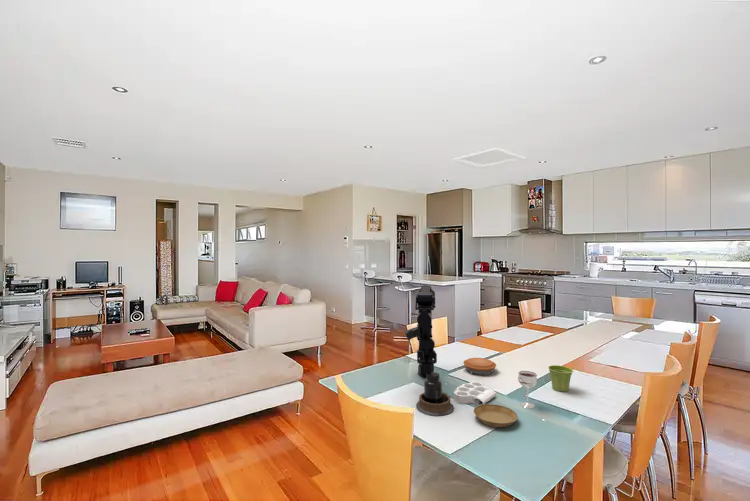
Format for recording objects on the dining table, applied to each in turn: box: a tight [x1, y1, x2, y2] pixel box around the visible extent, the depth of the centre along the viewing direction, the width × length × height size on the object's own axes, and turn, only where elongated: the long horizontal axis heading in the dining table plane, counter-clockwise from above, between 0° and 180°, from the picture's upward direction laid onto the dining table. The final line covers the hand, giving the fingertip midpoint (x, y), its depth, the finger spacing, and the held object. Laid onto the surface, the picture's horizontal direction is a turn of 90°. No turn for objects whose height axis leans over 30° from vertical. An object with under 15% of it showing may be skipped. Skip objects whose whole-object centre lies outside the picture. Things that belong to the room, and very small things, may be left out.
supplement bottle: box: [423, 371, 443, 404], centre depth 136 cm, size 7×7×12 cm
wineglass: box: [517, 370, 538, 409], centre depth 137 cm, size 7×7×12 cm
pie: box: [462, 357, 497, 376], centre depth 175 cm, size 16×16×5 cm
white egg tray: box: [453, 381, 497, 406], centre depth 145 cm, size 3×18×15 cm
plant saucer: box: [473, 403, 519, 428], centre depth 126 cm, size 15×15×3 cm
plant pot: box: [547, 364, 574, 392], centre depth 152 cm, size 9×9×9 cm
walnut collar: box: [415, 392, 455, 417], centre depth 136 cm, size 14×14×4 cm
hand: (425, 358), depth 154 cm, fingers open, 9 cm apart
